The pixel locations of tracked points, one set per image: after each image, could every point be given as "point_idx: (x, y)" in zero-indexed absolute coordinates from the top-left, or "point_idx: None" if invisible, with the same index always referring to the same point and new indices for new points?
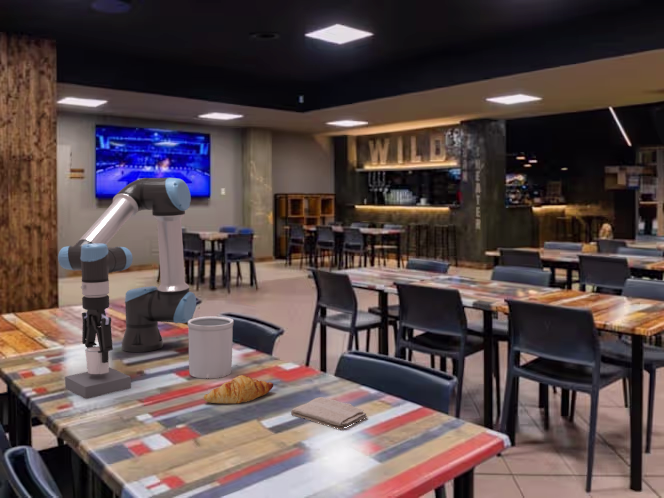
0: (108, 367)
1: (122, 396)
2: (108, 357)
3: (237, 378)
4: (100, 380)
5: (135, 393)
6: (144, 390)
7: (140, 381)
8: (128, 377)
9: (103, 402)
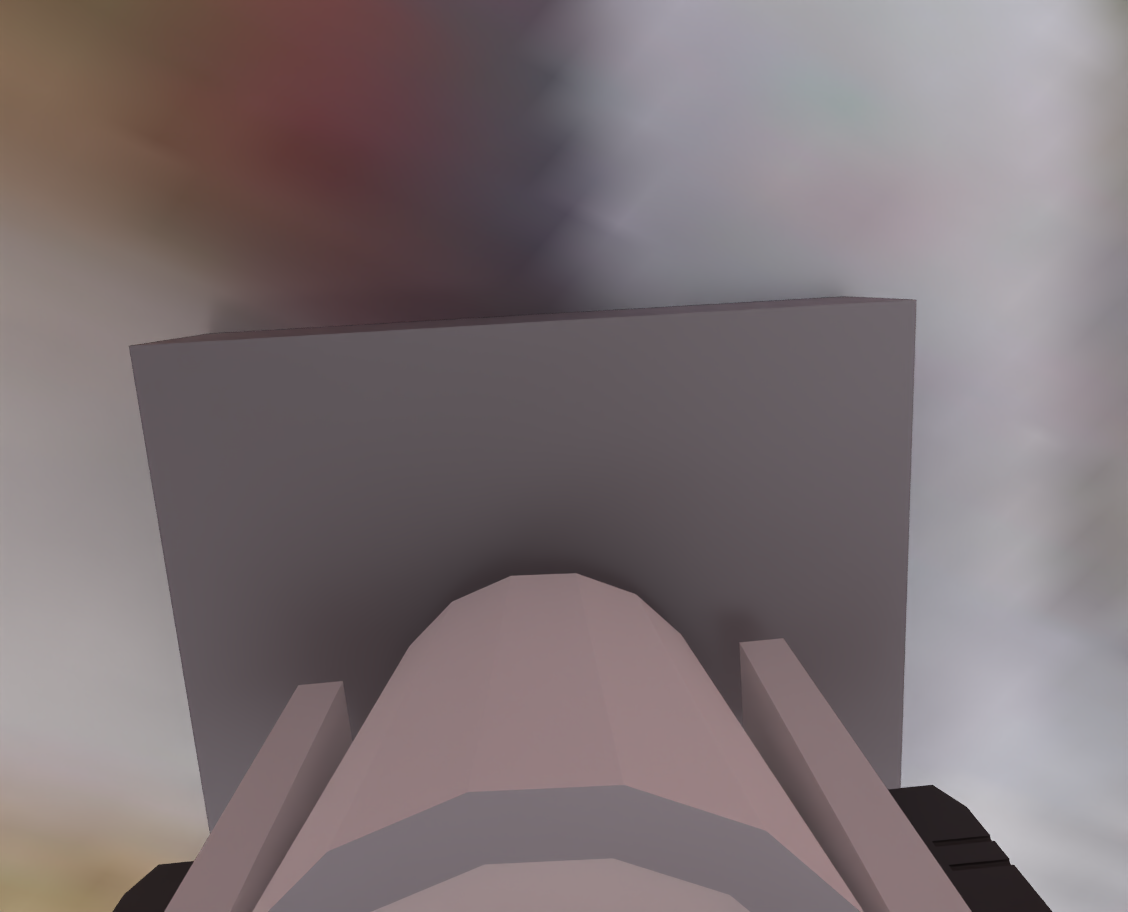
0: (813, 684)
1: (1064, 519)
2: (708, 711)
3: None
4: None
5: (1085, 351)
6: (1068, 203)
7: (658, 50)
8: (914, 342)
9: (1085, 752)
